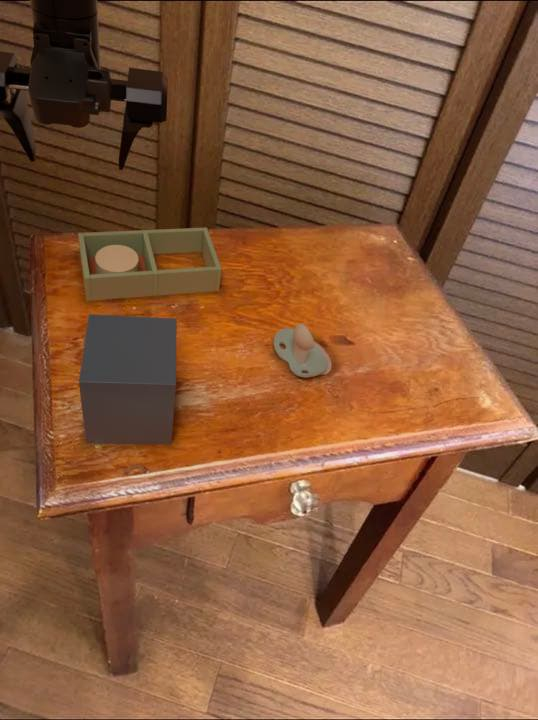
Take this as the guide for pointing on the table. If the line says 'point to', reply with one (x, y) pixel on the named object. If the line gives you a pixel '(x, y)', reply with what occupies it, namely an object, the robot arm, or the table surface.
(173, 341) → the stand
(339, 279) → the table surface
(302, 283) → the table surface
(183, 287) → the olive green divided tray
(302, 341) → the pacifier
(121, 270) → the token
